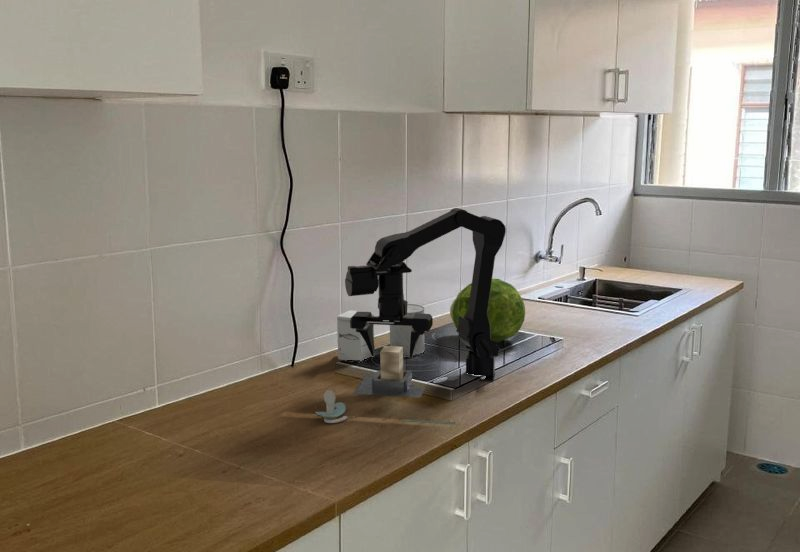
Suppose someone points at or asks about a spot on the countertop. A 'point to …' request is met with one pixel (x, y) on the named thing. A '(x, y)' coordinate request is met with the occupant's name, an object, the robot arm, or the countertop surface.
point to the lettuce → (495, 309)
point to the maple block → (391, 363)
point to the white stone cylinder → (407, 332)
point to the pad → (428, 421)
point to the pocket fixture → (389, 386)
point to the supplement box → (351, 339)
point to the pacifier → (332, 409)
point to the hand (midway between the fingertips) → (392, 356)
